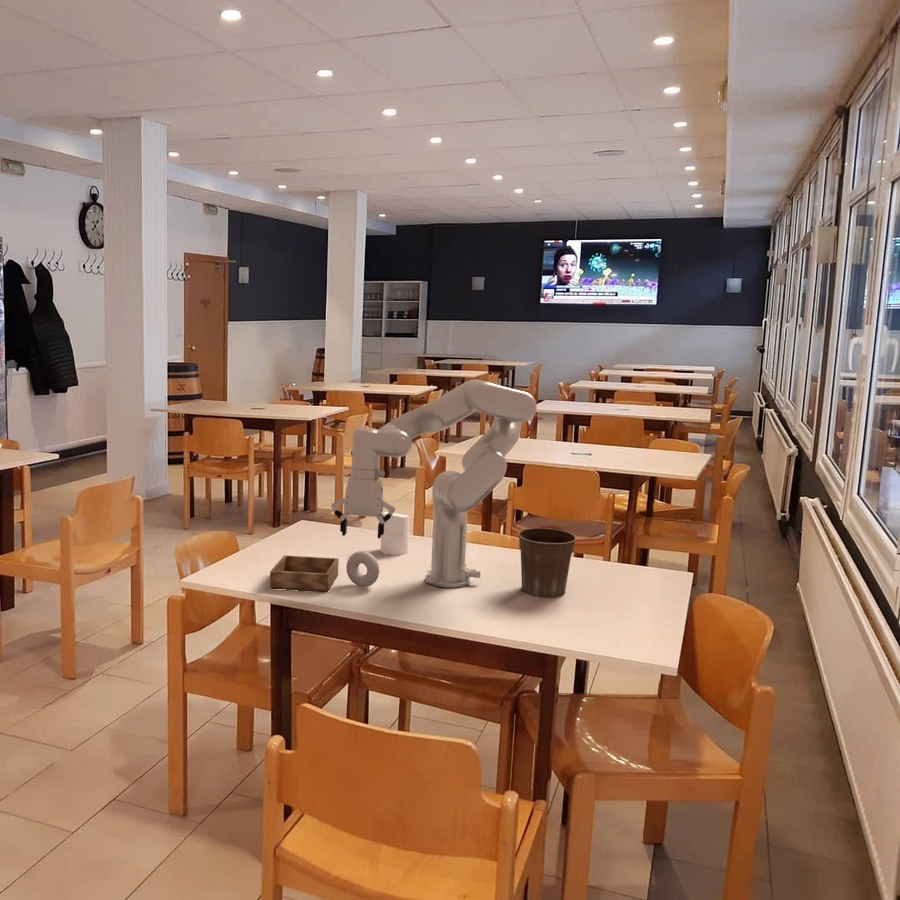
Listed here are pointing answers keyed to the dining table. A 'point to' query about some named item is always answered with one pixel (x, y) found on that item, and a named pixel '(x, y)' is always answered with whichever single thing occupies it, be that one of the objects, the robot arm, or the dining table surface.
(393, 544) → the white block
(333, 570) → the walnut box
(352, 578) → the donut
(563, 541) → the plant pot
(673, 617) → the dining table surface
